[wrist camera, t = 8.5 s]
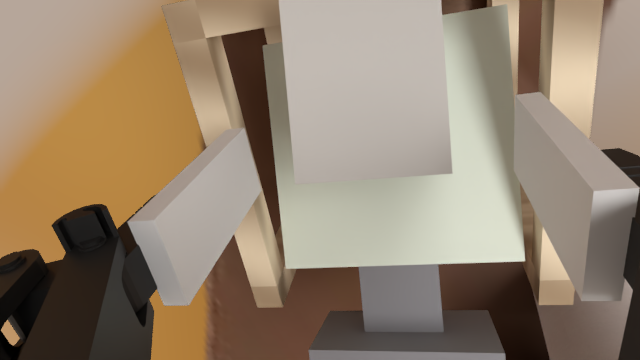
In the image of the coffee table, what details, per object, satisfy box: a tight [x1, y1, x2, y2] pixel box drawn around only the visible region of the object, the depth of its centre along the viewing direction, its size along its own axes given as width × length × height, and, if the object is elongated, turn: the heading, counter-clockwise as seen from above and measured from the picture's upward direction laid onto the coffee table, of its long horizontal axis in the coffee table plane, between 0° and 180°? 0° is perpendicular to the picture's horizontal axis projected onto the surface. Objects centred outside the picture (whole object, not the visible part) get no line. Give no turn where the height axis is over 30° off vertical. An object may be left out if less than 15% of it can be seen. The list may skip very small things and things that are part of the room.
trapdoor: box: [262, 4, 525, 360], centre depth 22 cm, size 20×12×5 cm, turn 11°
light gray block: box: [279, 0, 453, 184], centre depth 17 cm, size 6×5×8 cm
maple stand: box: [161, 0, 604, 308], centre depth 24 cm, size 16×16×14 cm
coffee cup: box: [533, 279, 633, 360], centre depth 29 cm, size 10×10×15 cm
